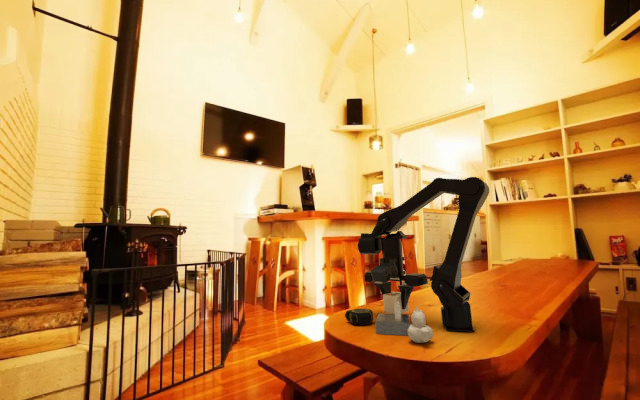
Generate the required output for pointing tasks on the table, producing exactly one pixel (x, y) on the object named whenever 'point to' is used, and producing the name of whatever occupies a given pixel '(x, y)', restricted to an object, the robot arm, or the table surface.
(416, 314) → the white rounded figure
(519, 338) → the table surface
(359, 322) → the tape measure
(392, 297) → the cream box
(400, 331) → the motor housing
